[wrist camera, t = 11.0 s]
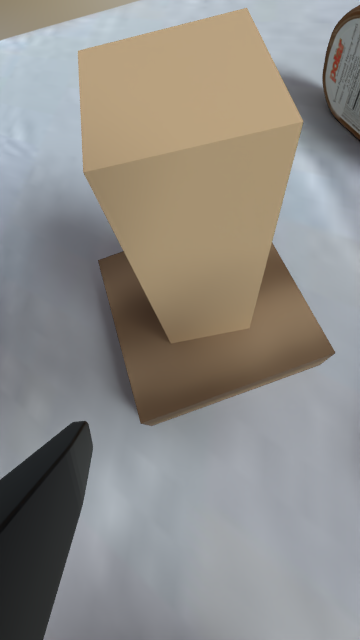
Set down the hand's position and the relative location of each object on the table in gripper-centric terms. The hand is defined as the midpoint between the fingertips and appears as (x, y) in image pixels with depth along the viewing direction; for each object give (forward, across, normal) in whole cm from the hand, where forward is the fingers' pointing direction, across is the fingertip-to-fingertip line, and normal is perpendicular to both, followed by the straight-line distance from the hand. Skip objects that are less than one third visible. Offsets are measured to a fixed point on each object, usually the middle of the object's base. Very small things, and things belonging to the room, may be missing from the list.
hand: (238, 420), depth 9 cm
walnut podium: (+14, 0, +1) cm, 14 cm away
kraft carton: (+12, 0, -1) cm, 12 cm away
